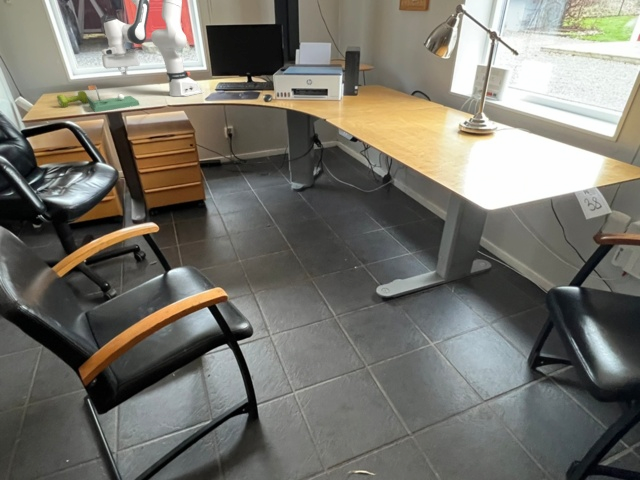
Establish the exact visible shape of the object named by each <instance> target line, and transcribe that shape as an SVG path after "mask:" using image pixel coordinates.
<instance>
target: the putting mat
mask: <svg viewBox="0 0 640 480" xmlns="http://www.w3.org/2000/svg"><path fill="white" fill-rule="evenodd" d="M87 88H88V90H89V91H95V90H96V91H95V92H96V94H97V98H98V100H93V99H92V98H90V97H89V96H88V97H87V100H88V103H87V104H88V105H89V107H90V109H92V110H93V111H94V112H95V113H99V112H106V111H110V110H118V109H124V108H130V106H131V107H136V106H140V102H139V100H138V99H136V98H135V97H133V96H131V95H129V96H128V95H127V96H124V100H119V99H118V97H114V98H108V99H101V97H100V94H99V90H98V88H97V84H94V85H93V84H92V85H87Z"/></svg>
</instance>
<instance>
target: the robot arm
mask: <svg viewBox="0 0 640 480" xmlns="http://www.w3.org/2000/svg"><path fill="white" fill-rule="evenodd" d="M130 1H131V2H132V3H133V4H134V5H135V7H136V11H135V16H134V21H133V23H131V24H130V23H129V24H128V23H125V22H122V21H121V20H120V19H118V18H116V17H112V18H107V19H105V20H104V21H103V27H104V34H105V36H106V38H107V43H108V47H105V48H104V49H101V53H102V56H101V61H102V65H103V67H104V69H107V70H108V69H118V71H119V72H120V74H121V76H128V70H129V68H128V67H138V66H140V65H141V63H140V59H139V53H138V51H137V49H134V48H131V49H129V48H128V49H127V48H126V44H125V43H131V44H136V45H142V44H144V43H145V41H146V40H147V29H146V28H147V24H148V23H147V22H148V18H149V17H148V16H149V11H150V0H130ZM182 2H183V0H162V7H161V8H162V9H161V18H162V20H163V21H164V22H165V26H166V27H165V28H158V29H156V30H155V29H154V30H153V31H152V33H151V35H150V38H151V42H152V44H153V45H154V46H155V47H157V49H158V51H159V52H160V54H161V56H162V58H163V61H164V65H165V68H166V69H165V71H166V77H167V81H168V85H169V86H168V87H169V96H171V97H188V96H189V97H190V96H194V95H199V94H203V93H204V90H203V89H202V88H200V85H199V84H198V82H197V81H196V80H194V79H192V77H189V76H191V72H190V71H187V70H185V68H184V63H183V58H182V57H181V56H180V55H179V54H178V53H177V50H180V49H183V48H185V47H186V46H187V44H188V43H187V42H188V40H187V39H188V38H187V36H186V34H185V32H184V31H183V28H182V20H181V19H182V8H183V3H182ZM122 68H124V69H125V70H124V71H123V70H122Z"/></svg>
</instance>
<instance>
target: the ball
mask: <svg viewBox="0 0 640 480" xmlns="http://www.w3.org/2000/svg"><path fill="white" fill-rule="evenodd" d="M124 97H125V96H124V95H123V94H122V93H119V94H118V95H117V98H118V99H119V100H124Z"/></svg>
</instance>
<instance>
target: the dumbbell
mask: <svg viewBox="0 0 640 480" xmlns="http://www.w3.org/2000/svg"><path fill="white" fill-rule="evenodd" d="M87 97H89V96H88V94H87V93H86V92H85V91H84V90H78V92H77V95H74V96H69V97H66V96H65V95H64V94H57V96H56V99H57V103H58V104H59V106H60V107H61V108H68V107H69V103H74V102H78V101H79V102H80V103H83V104H89V103H88V100H87Z"/></svg>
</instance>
